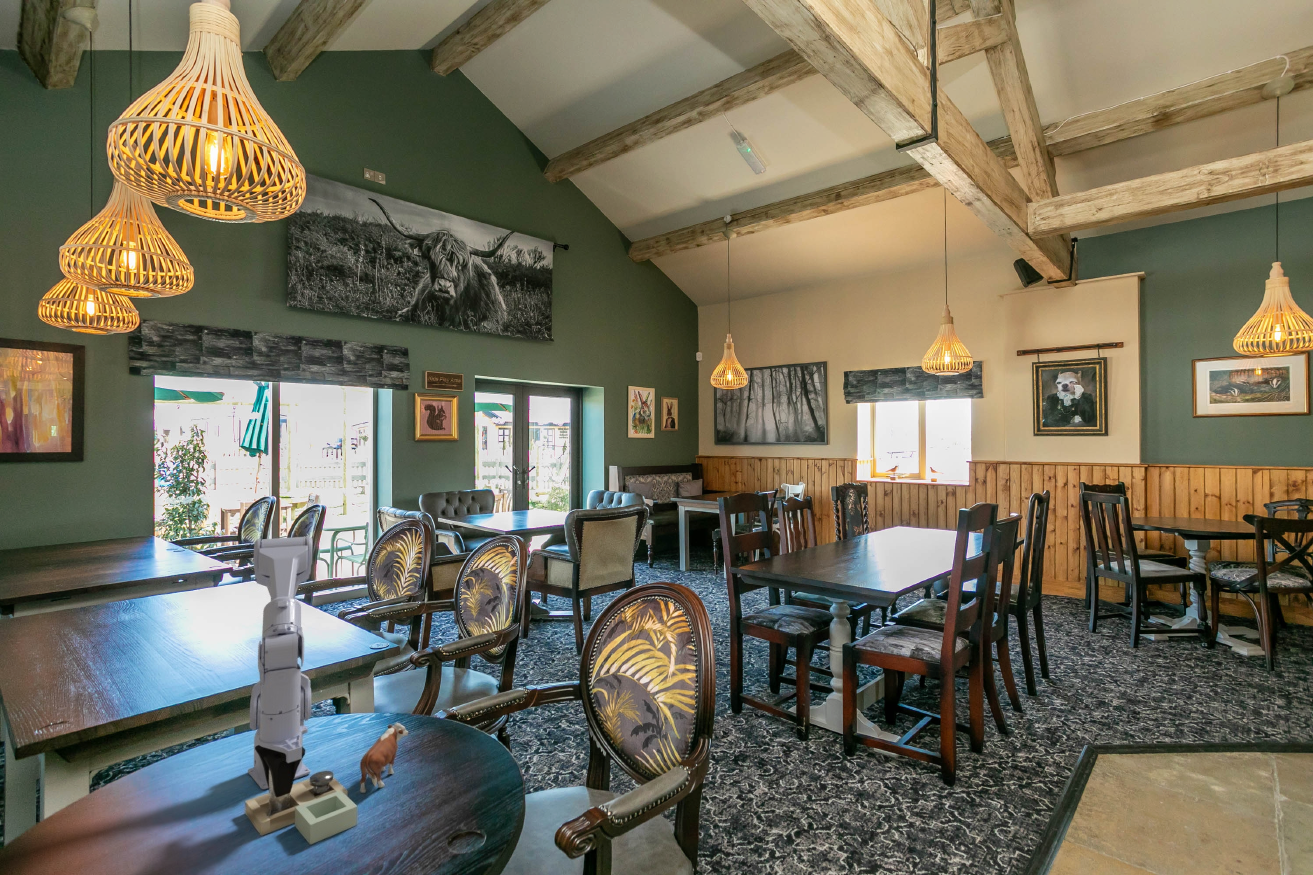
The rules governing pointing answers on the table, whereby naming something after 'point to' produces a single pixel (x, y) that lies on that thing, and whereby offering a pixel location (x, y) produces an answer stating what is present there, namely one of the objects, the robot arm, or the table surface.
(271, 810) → the silver metal cylinder
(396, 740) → the bull figurine
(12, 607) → the table surface
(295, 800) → the socket block
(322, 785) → the round dark knob
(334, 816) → the grey-green hollow square block
